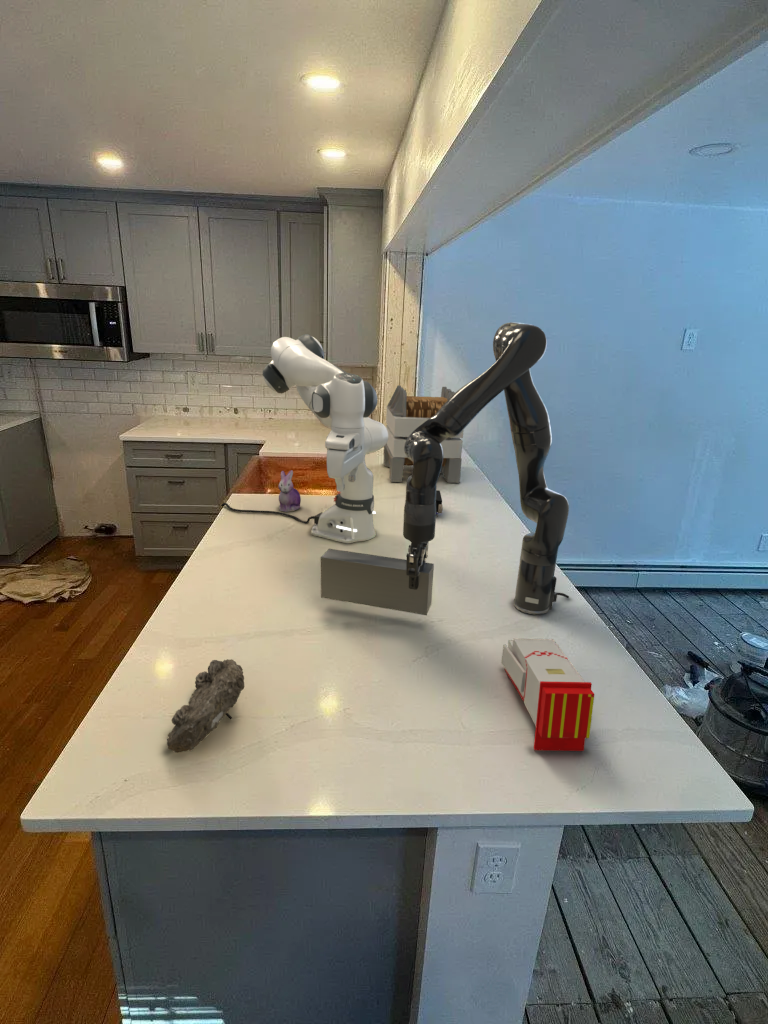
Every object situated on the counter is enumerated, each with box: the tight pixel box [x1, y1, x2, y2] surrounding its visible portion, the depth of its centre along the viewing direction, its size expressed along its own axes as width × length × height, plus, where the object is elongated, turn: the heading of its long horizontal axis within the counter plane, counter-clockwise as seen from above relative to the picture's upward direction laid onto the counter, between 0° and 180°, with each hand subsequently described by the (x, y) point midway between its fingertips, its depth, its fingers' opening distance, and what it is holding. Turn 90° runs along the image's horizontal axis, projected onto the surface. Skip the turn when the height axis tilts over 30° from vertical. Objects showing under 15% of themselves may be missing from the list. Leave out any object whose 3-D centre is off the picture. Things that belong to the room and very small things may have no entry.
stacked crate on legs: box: [383, 384, 465, 484], centre depth 268 cm, size 34×33×41 cm
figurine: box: [278, 469, 302, 513], centre depth 217 cm, size 9×10×15 cm
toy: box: [500, 637, 595, 752], centre depth 114 cm, size 12×13×30 cm
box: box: [320, 548, 435, 616], centre depth 141 cm, size 28×6×11 cm, turn 74°
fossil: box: [166, 658, 245, 754], centre depth 106 cm, size 22×10×15 cm
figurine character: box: [436, 489, 443, 518], centre depth 221 cm, size 7×8×15 cm
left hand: (346, 485), depth 156 cm, fingers open, 8 cm apart
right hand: (416, 582), depth 139 cm, fingers closed on box, 5 cm apart
